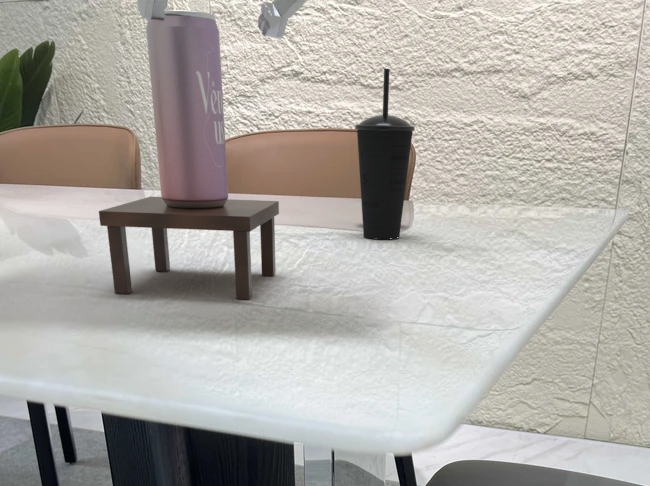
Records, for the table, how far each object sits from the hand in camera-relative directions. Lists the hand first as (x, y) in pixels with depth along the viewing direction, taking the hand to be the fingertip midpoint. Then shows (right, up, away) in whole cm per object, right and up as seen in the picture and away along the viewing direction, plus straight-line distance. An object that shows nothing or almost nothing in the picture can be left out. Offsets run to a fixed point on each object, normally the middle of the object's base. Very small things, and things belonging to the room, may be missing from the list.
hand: (212, 24), depth 57 cm
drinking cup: (+14, -1, +47) cm, 49 cm away
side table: (-4, -15, +17) cm, 23 cm away
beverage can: (-4, -9, +13) cm, 17 cm away
